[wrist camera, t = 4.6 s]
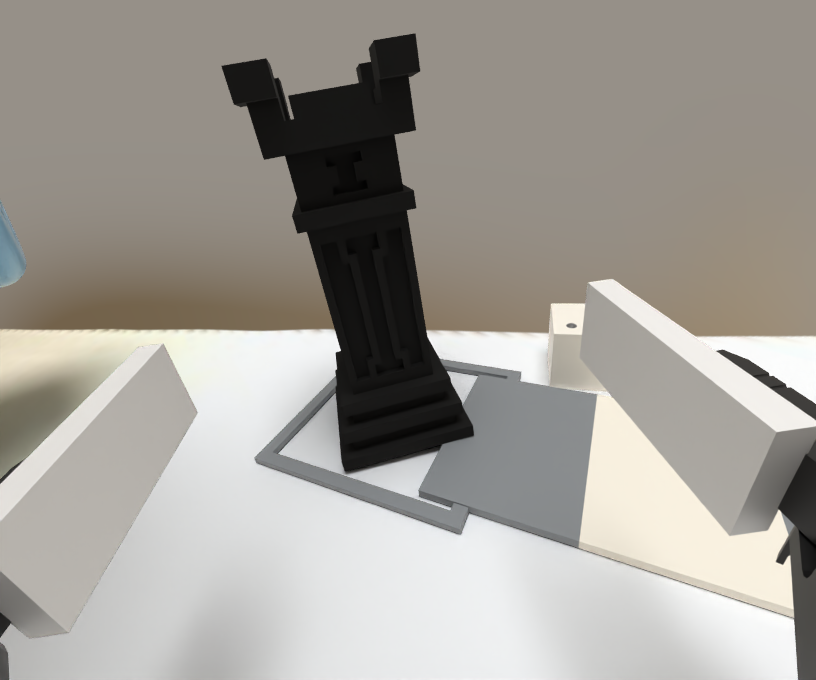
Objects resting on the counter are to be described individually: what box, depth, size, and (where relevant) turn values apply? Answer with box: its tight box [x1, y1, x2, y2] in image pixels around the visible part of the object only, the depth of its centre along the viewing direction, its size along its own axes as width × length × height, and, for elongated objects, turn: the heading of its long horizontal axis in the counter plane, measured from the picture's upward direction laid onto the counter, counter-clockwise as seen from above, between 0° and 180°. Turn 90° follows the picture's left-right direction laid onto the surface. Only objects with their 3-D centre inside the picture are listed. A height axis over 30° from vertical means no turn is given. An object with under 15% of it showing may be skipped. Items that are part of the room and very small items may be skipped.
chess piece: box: [222, 34, 474, 471], centre depth 23 cm, size 8×8×20 cm
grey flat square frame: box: [255, 359, 521, 534], centre depth 27 cm, size 14×14×1 cm
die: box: [547, 304, 608, 392], centre depth 28 cm, size 4×4×5 cm
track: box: [418, 375, 794, 618], centre depth 21 cm, size 24×11×1 cm, turn 64°
